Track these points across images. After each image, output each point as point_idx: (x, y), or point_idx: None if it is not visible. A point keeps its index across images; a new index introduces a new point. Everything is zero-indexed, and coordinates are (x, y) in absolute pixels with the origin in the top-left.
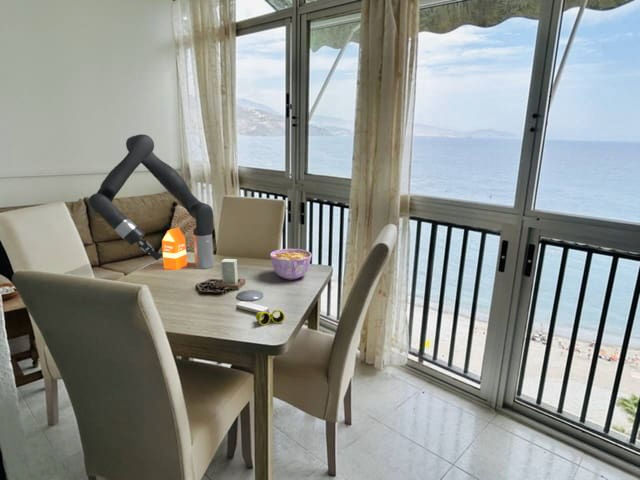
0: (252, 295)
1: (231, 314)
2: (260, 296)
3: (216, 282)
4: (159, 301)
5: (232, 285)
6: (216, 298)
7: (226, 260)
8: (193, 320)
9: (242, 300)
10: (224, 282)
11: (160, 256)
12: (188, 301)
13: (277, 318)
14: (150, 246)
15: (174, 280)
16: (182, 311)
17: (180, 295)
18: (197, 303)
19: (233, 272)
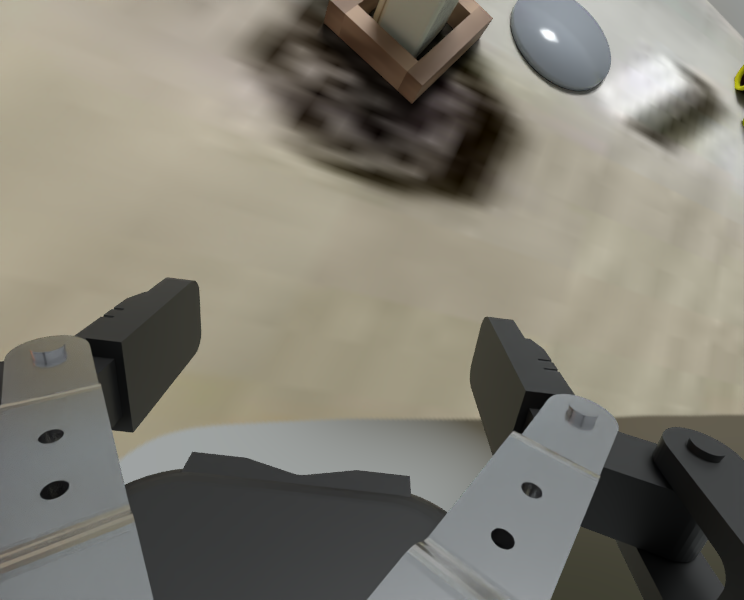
0: (573, 33)
1: (694, 178)
2: (590, 18)
3: (404, 66)
4: None
5: (477, 32)
6: (543, 156)
7: None
8: (719, 315)
9: (594, 86)
10: (427, 37)
11: (193, 284)
12: (541, 277)
13: (741, 83)
14: (577, 468)
15: (125, 250)
16: (639, 333)
17: (448, 291)
18: (574, 248)
19: None
